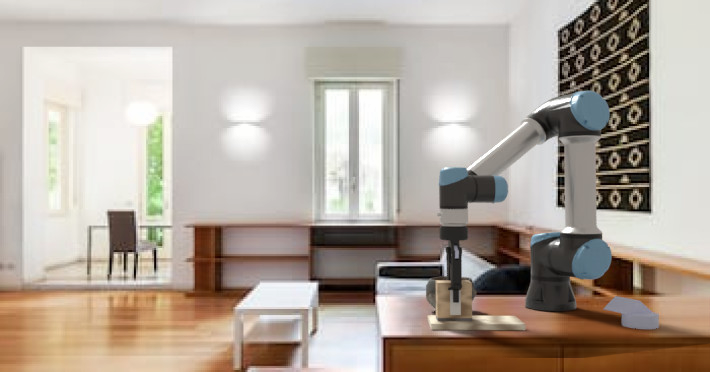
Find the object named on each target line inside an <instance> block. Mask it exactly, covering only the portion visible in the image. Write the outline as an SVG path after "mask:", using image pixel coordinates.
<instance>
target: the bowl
mask: <svg viewBox="0 0 710 372" xmlns="http://www.w3.org/2000/svg"><path fill="white" fill-rule="evenodd" d="M436 280H447V275H446V276H445V275H443V276H436V277H430V278H429V279H428V281H427V283H426V285H425V297H426V300H427V302H428V303H429V304H430V306H432V308H434V309H435V310H436ZM462 280H469V281H470V282H471V283H472V302H473V301H474V299H475V297H476V295H477V293H478V292H477V290H476V289H475V288H476V287H475V285H474V282H473V279H472V278H471V277H465V276H462Z"/></svg>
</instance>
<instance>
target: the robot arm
mask: <svg viewBox="0 0 710 372" xmlns="http://www.w3.org/2000/svg"><path fill="white" fill-rule="evenodd" d="M610 117H611V116H610V107H609V105H608V102H607V101H606V99H605V98H603V97H602V95H601V94H600V93H598V92H596V91H593V90H584V91H583V90H581V91H575V92H573V93H570V94H565V95H561V96H560V95H559V96H555V97H552V98H551V99H548V100H547V101H545V102H543V103H542V104H541V105H539V106H538V107H537V108H535V109H534V110H533V111H531V112H530V113H529V114H528V115H527V116H526V117H524V118H522V120H521V121H520V125H519V126H518V127H517V128H516V129H514V131H512V132H511V133H509V134H508V135H507V136H506V137H505V138H504V139H502V140H501V141H500V142H499V143H497V144H496V145H494V147H492V148H491V149H490V150H489V151H487V152H486V153H485V154H484V155H483V156H481V157H480V158H479V159H477V160H476V161H475V162H473V164H472V165H470V166H469V167H468V168H466V167H462V166H457V167H456V166H454V167H453V166H451V167H450V166H449V167H443V168H441V169H440V170H439V179H438V188H439V190H438V191H439V192H438V195H439V198H438V199H439V203H438V204H439V212H437V213H436V215H437V217H439V224H440V225H441V226H439V227H438V228H439V232H438V233H439V239H440V240H441V241H448V243H447V246H445V253H446V255H445V257H446V258H445V259H446V276H447V280H451V287H448V290H450V315H461V288H462V277H463V276H462V272H463V271H462V265H463V264H462V262H463V261H462V258H463V257H462V256H463V255H462V254H463V247H461V246H460V241H467V240H468V239H469V227H468V226H467V225H468V223H469V204H495V203H496V204H497V203H498V204H499V203H503V202H504V201H505V200H506V199H507V197H508V194H509V184H508V181H507V180H506V178H505V177H503V176H502V175H501V174H503V172H505V171H506V170H507V169H508V168H510V167H511V166H512V165H514V164H515V163H516V162H517V161H518V160H520V159H521V158H522V157H523V156H525V155H526V154H527V153H528V152H529V151H530V150H532V149H534V148H535V146H536V145H543V144H545V142H547V141H548V140H550V139H552V138H555V137H558V140H559V141H560V142H561V143H562V144H563V145H564V151H563V152H564V156H563V157H564V213H565V214H564V220H565V221H564V223H565V225H564V227H563V228H562V229H560V231H557V232H556V231H555V232H543V233H536V234H533V235H532V236H531V238H530V246H529V249H530V282H529V287H528V290H527V292H526V296H525V300H524V303H525V305H524V306H525V308H528V309H531V310H537V311H545V312H546V311H547V312H548V311H549V312H568V311H575V310H577V301H576V297H575V294H574V290H573V288H572V285H571V278H577V279H580V280H589V281H590V280H596V279H597V280H598V279H599V278H601V277H603V276H604V274H605V273H606V272H607V271H608V270H609V268H610V266H611V263H612V257H613V256H612V255H613V254H612V249H611V248H610V247H611V246H609V244H608V243H607V242H606V241H605V240H603V231H602V230H601V229H600V228H599V227H598V226H597V221H598V220H597V172H596V170H597V165H596V164H597V161H596V159H597V158H596V154H597V153H596V150H597V149H596V144H597V142H598V141H599V140H601V138H602V129H604V128H606V126H607V124H608V123H609V120H610Z"/></svg>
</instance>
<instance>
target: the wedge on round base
mask: <svg viewBox="0 0 710 372" xmlns="http://www.w3.org/2000/svg"><path fill="white" fill-rule="evenodd" d="M603 310H604V311H610V312H615V313H620V314H621V316H620V317H621V326H622V327H624V328H631V329H635V328H636V329H637V330H657V329H659V328H660V320H659V318H660V314H659V313H657V312H655V311H654V312H653V310H651V309H650V308H649V307H648V306H646V304H644V303H643V302H642V301H641V300H638V299H633V298H629V297H622V296H616V295H615V296H614V297H612V299H611V300H610V301H609V302H608V303H607V304H606V305H605V306H604V307H603ZM656 328H657V329H656Z"/></svg>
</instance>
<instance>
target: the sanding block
mask: <svg viewBox="0 0 710 372" xmlns="http://www.w3.org/2000/svg"><path fill="white" fill-rule="evenodd" d="M448 287H451V280H436V309H435V315H436V319H437V321H472V316H473V301H472V283H471V282H470V281H469V280H462V288H461V315H450V290H448Z"/></svg>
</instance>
